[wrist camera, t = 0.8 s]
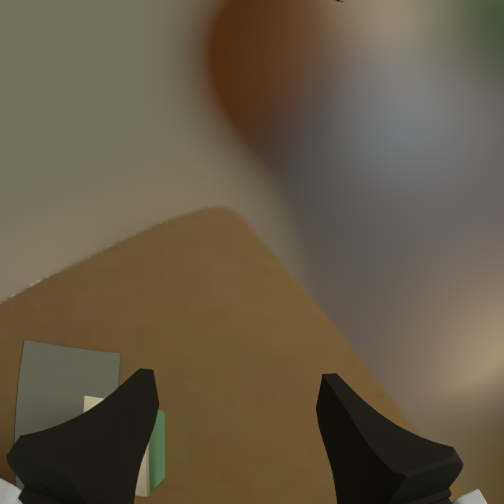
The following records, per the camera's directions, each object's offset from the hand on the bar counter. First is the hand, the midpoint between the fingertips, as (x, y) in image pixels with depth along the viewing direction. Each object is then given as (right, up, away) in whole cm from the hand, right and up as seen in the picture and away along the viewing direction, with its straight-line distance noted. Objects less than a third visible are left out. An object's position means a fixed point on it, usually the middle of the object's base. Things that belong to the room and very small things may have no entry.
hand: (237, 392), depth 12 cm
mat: (-16, -11, +8) cm, 21 cm away
